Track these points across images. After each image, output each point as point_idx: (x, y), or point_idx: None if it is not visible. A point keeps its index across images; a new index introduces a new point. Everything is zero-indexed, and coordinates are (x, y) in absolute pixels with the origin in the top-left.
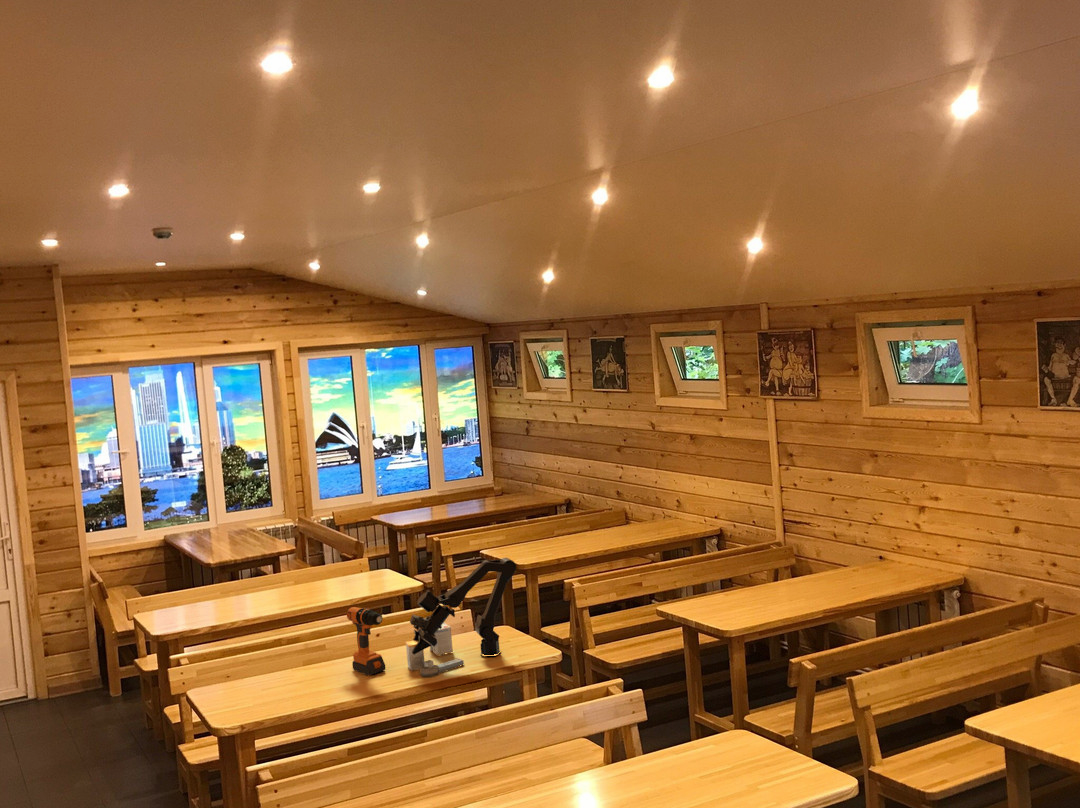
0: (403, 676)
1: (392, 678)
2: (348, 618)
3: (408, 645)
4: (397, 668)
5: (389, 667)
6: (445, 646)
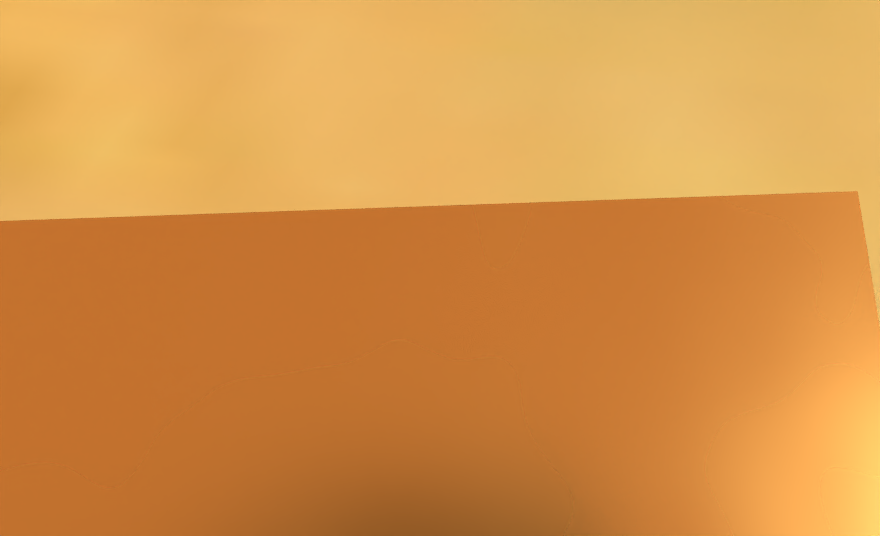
0: (46, 198)
1: (60, 8)
2: None
3: (21, 232)
4: (621, 165)
5: (762, 41)
6: None
